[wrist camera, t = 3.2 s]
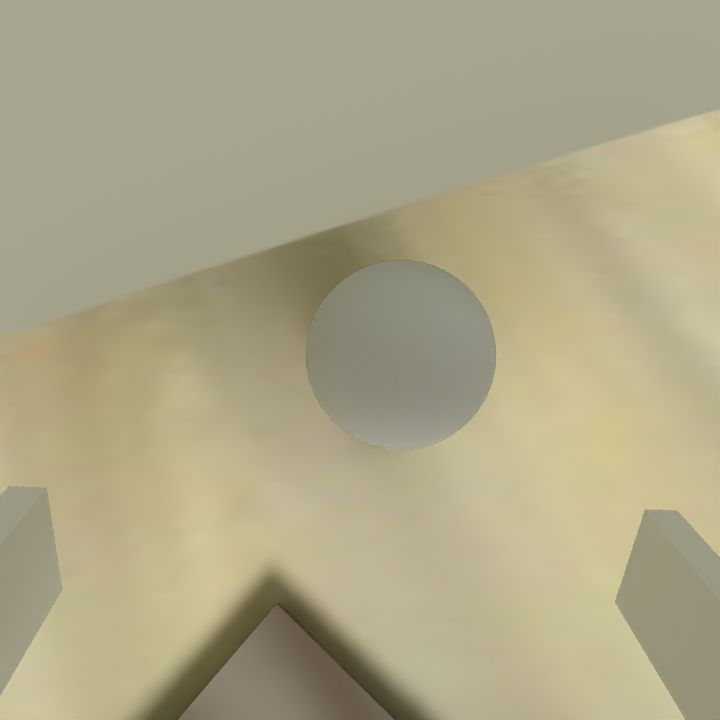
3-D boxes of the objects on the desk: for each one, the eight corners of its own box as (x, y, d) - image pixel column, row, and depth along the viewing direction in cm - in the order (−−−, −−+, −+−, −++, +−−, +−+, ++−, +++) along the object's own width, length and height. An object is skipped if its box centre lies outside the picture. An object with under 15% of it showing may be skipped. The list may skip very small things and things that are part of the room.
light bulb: (418, 340, 26) (479, 203, 17) (462, 465, 24) (559, 387, 15) (292, 370, 25) (282, 242, 16) (326, 503, 23) (339, 445, 14)
